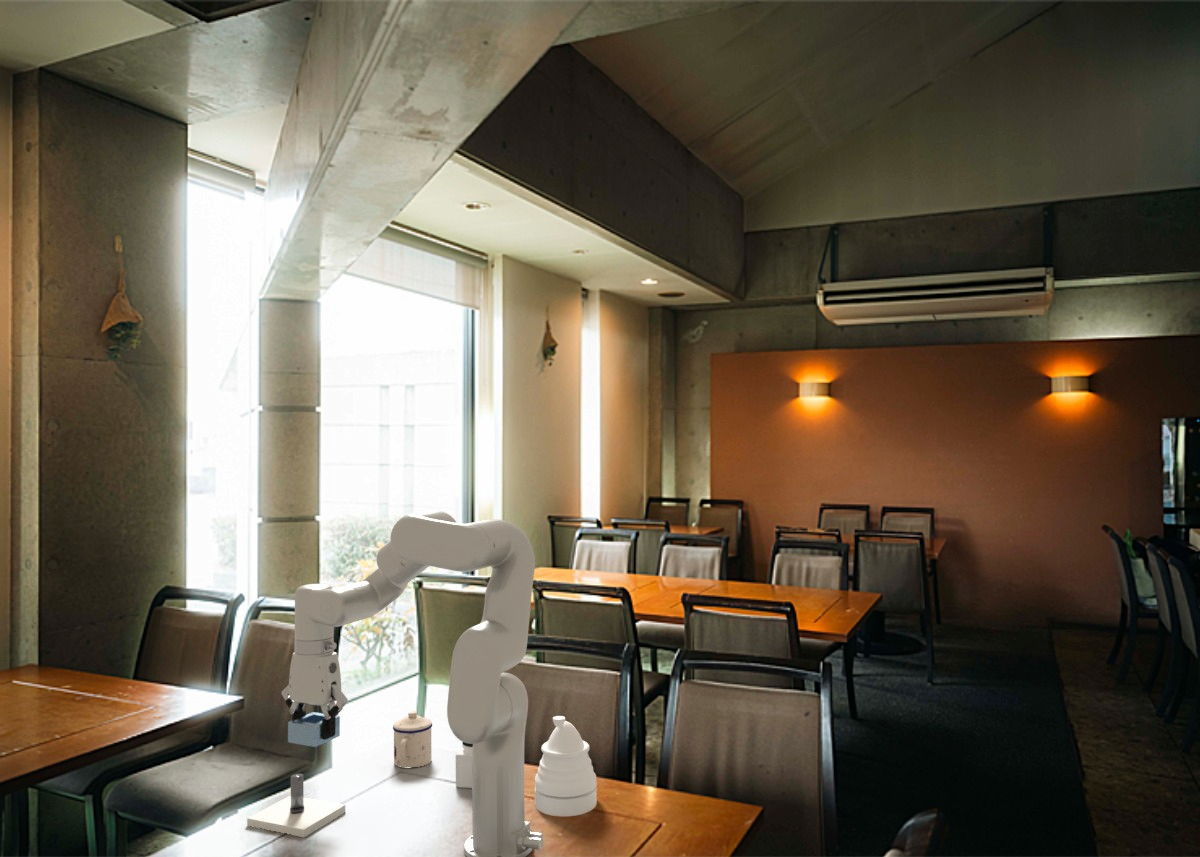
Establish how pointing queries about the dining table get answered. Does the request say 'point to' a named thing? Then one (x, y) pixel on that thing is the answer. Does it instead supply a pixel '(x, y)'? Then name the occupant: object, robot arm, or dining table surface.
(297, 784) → the steel post
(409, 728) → the teacup with lid
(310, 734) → the collar
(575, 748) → the honey pot
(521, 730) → the robot arm
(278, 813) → the base plate
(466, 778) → the medicine bottle
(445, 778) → the dining table surface
